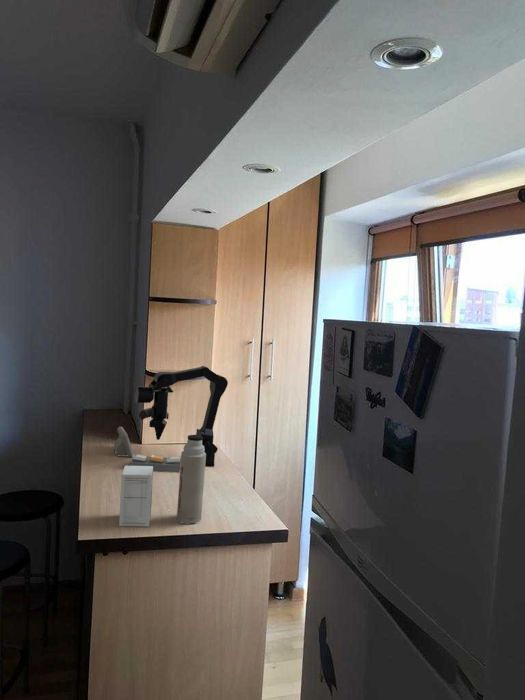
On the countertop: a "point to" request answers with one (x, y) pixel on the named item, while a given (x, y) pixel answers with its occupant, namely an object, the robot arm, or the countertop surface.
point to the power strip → (158, 464)
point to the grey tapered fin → (123, 444)
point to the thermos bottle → (191, 480)
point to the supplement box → (136, 496)
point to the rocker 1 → (139, 457)
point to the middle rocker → (156, 458)
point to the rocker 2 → (173, 459)
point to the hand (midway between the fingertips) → (158, 439)
